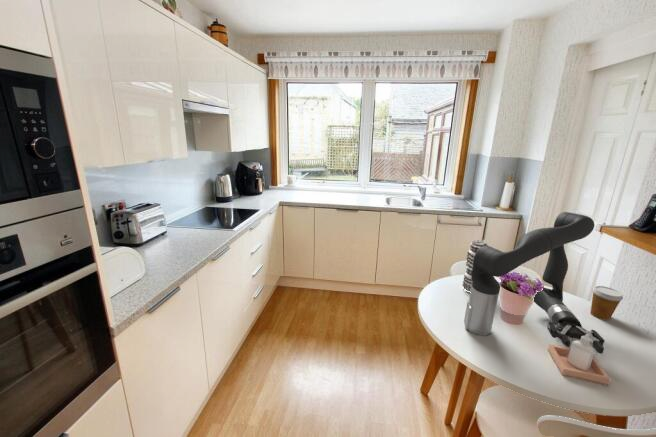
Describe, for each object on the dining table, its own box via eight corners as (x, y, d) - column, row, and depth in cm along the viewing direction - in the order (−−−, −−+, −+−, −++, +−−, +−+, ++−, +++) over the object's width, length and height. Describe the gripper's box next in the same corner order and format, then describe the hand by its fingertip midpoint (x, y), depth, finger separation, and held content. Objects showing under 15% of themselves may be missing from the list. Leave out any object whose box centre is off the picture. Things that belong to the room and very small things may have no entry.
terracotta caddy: (561, 375, 93) (563, 368, 93) (547, 350, 104) (549, 344, 104) (608, 385, 90) (610, 379, 89) (588, 358, 101) (590, 352, 100)
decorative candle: (481, 296, 138) (491, 247, 131) (459, 291, 142) (468, 242, 136) (482, 288, 145) (492, 241, 138) (462, 283, 150) (470, 237, 143)
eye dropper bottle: (577, 371, 94) (588, 340, 91) (564, 358, 100) (573, 328, 96) (591, 372, 94) (602, 340, 91) (577, 359, 100) (586, 329, 96)
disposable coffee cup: (620, 320, 123) (629, 295, 120) (605, 324, 120) (614, 298, 117) (594, 308, 132) (602, 284, 128) (580, 311, 129) (587, 286, 126)
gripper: (543, 306, 109) (561, 333, 94) (589, 314, 105) (616, 343, 90) (538, 323, 111) (555, 352, 96) (583, 332, 107) (608, 363, 92)
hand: (584, 348), depth 93 cm, fingers open, 8 cm apart
